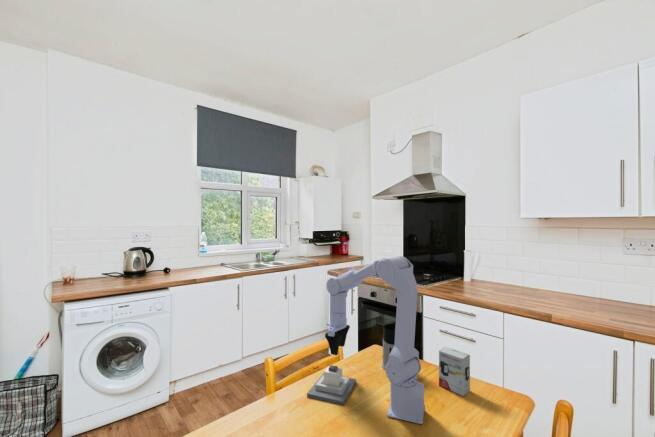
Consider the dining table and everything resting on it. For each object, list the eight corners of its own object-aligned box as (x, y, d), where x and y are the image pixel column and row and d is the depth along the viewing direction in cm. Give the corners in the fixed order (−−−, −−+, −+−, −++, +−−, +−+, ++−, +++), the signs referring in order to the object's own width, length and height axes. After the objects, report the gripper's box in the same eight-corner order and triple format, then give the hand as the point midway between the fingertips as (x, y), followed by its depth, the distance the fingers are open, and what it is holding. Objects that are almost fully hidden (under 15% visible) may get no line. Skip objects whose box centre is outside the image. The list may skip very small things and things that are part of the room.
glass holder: (402, 362, 117) (402, 323, 118) (411, 380, 103) (411, 336, 103) (380, 361, 118) (380, 323, 118) (385, 380, 103) (385, 336, 104)
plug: (342, 384, 99) (342, 365, 99) (338, 390, 95) (338, 371, 95) (328, 381, 101) (328, 363, 101) (323, 387, 97) (323, 368, 97)
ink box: (438, 385, 100) (437, 350, 100) (445, 380, 103) (444, 346, 104) (463, 396, 94) (463, 358, 94) (470, 390, 97) (470, 354, 97)
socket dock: (356, 382, 102) (356, 374, 102) (343, 405, 89) (343, 396, 89) (323, 375, 107) (323, 368, 107) (307, 396, 93) (307, 388, 94)
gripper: (334, 305, 114) (334, 341, 114) (319, 315, 101) (319, 356, 101) (352, 307, 112) (352, 343, 112) (339, 318, 98) (339, 360, 98)
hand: (337, 350), depth 106 cm, fingers open, 7 cm apart
